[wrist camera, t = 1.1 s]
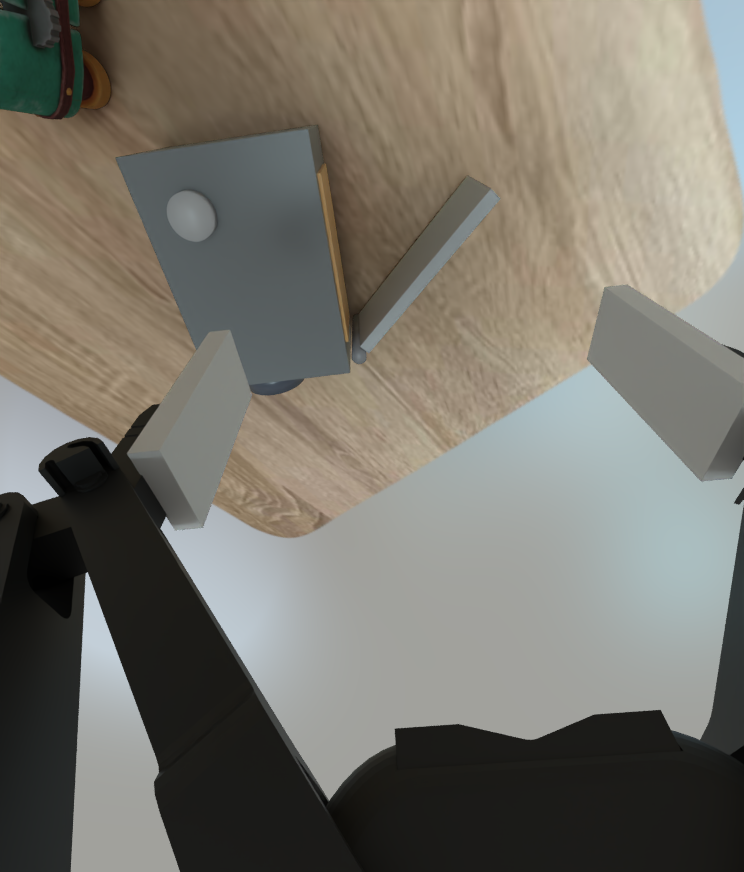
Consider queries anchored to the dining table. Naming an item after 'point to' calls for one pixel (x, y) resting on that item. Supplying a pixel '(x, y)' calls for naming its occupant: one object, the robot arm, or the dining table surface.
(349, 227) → the dining table surface
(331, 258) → the camera body
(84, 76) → the binoculars
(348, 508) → the dining table surface
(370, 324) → the side door
